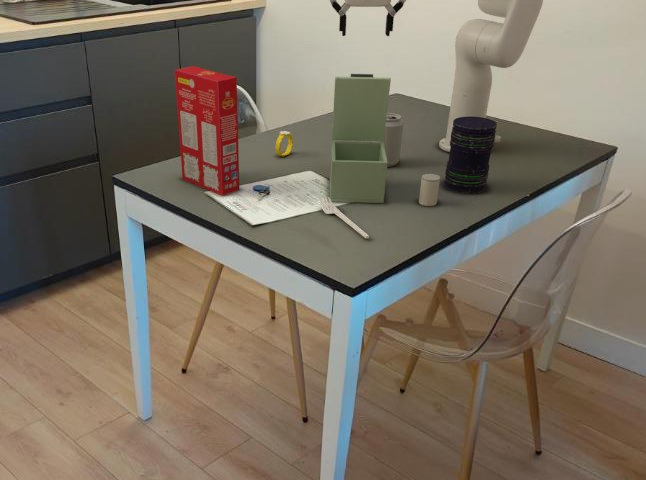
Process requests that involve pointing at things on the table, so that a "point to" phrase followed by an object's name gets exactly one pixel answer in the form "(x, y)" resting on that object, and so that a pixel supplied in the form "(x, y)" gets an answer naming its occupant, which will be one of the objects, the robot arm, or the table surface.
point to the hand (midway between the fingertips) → (365, 34)
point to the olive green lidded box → (358, 172)
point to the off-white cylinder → (429, 189)
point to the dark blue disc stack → (469, 154)
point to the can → (393, 138)
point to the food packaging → (208, 129)
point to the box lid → (360, 107)
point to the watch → (279, 140)
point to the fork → (340, 215)
